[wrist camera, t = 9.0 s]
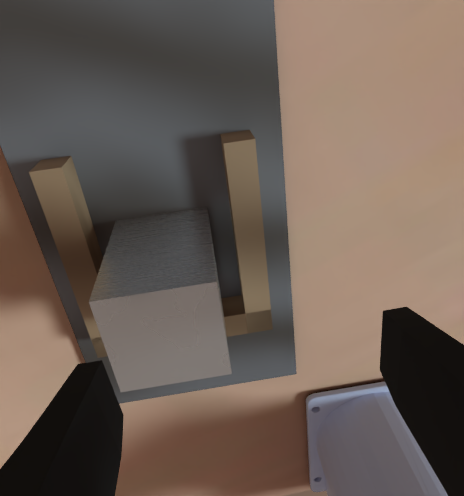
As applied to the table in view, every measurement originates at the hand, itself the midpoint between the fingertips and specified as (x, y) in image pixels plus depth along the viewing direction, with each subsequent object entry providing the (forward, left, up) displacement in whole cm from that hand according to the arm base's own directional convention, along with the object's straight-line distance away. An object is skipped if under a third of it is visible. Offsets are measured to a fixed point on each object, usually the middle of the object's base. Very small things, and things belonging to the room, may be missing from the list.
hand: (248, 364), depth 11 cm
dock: (0, +2, -9) cm, 10 cm away
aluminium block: (-1, +2, -9) cm, 9 cm away
